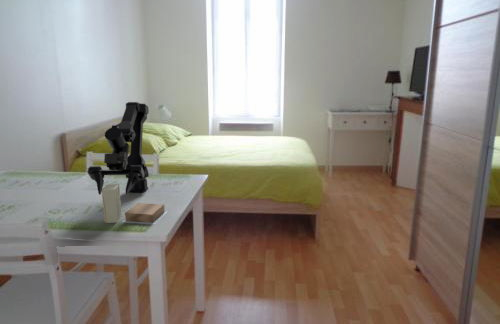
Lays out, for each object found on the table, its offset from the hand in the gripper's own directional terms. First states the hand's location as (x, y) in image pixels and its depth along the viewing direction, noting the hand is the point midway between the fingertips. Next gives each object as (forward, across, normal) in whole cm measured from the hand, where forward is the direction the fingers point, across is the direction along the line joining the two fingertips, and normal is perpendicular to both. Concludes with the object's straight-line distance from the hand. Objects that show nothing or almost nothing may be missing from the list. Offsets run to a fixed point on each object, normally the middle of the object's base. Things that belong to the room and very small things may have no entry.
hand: (112, 193), depth 128 cm
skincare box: (+8, 0, +6) cm, 9 cm away
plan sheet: (+6, +11, +7) cm, 14 cm away
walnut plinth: (+6, +11, +6) cm, 14 cm away
